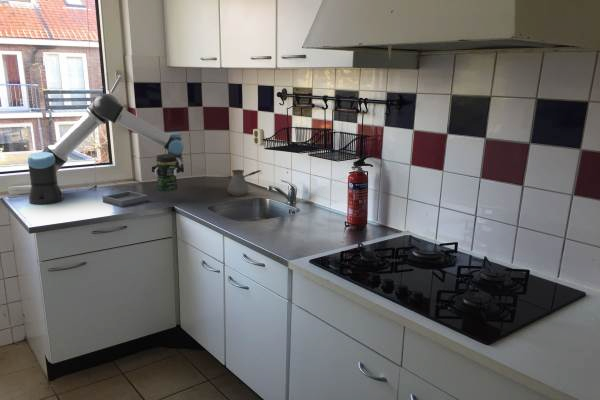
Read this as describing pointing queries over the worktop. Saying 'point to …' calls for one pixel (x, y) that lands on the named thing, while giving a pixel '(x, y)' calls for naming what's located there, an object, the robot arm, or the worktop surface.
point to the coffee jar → (166, 172)
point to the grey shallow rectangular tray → (125, 198)
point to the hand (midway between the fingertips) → (165, 172)
